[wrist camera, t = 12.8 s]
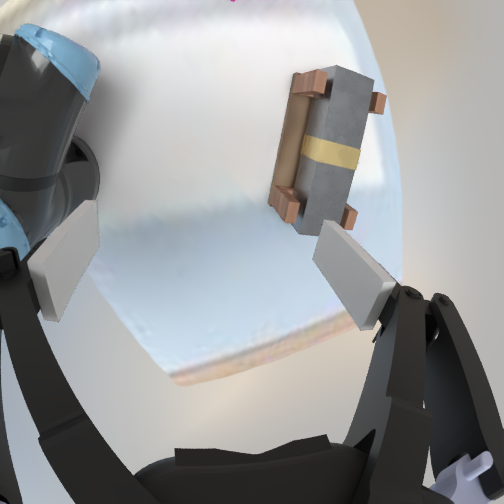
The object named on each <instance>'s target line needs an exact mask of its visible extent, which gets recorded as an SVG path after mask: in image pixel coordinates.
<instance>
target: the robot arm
mask: <svg viewBox="0 0 504 504" xmlns="http://www.w3.org/2000/svg"><path fill="white" fill-rule="evenodd" d="M14 34H15V35H14V36H10V35H5V34H0V504H23V502H22V497H21V493H20V490H19V486H18V482H17V479H16V475H15V471H14V468H13V463H12V459H11V455H10V451H9V445H8V440H7V434H6V428H5V421H4V413H3V404H2V391H1V334H2V333H1V332H2V330H4V334H5V338H6V342H7V346H8V350H9V354H10V358H11V361H12V364H13V368H14V370H15V374H16V377H17V380H18V382H19V385H20V388H21V391H22V394H23V396H24V399H25V401H26V404H27V407H28V409H29V411H30V413H31V416H32V418H33V421H34V423H35V425H36V427H37V429H38V432H39V434H40V437H39V438H38V440H39V444H40V446H41V448H42V450H43V452H44V454H45V456H46V458H47V460H48V461H49V463H50V465H51V467H52V468H53V470H54V472H55V473H56V475H57V477H58V478H59V480H60V482H61V483H62V485H63V486H64V488H65V489H66V491H67V492H68V494H69V495H70V497H71V498H72V499H73V501H74V502H75V504H489V503H491V502H493V501H495V500H496V499H498V498H500V497H501V496H503V495H504V429H503V427H502V423H501V420H500V416H499V413H498V409H497V406H496V403H495V400H494V397H493V393H492V390H491V387H490V385H489V382H488V380H487V376H486V374H485V371H484V368H483V366H482V363H481V361H480V359H479V356H478V354H477V352H476V349H475V347H474V344H473V342H472V340H471V338H470V336H469V333H468V331H467V329H466V327H465V325H464V323H463V321H462V319H461V317H460V315H459V313H458V311H457V309H456V307H455V305H454V303H453V302H452V301H451V300H450V299H449V297H448V296H446V295H444V294H440V293H435V294H434V295H433V297H432V299H431V301H429V300H424V298H423V296H422V294H421V293H420V292H419V291H417V290H416V289H414V288H412V287H409V286H401V285H400V284H399V283H398V282H397V281H396V280H395V279H394V278H393V277H392V276H391V275H389V273H388V272H387V271H386V270H385V269H384V268H383V267H382V266H381V265H380V264H379V263H378V262H377V261H376V260H375V259H374V258H373V257H372V256H371V255H370V254H369V253H368V252H367V251H366V250H365V249H364V248H363V247H362V246H361V245H359V244H358V243H357V242H356V241H355V240H354V239H353V238H352V237H351V236H350V235H349V234H348V233H347V232H346V231H345V230H344V229H343V228H342V227H341V226H340V225H338V224H337V223H336V222H335V221H331V220H324V221H323V225H322V228H321V232H320V235H319V239H318V242H317V245H316V249H315V252H314V255H313V259H312V260H313V261H314V262H315V264H316V265H317V267H318V268H319V270H320V271H321V273H322V274H323V275H324V277H325V278H326V280H327V281H328V283H329V284H330V286H331V287H332V289H333V290H334V292H335V293H336V295H337V296H338V297H339V299H340V300H341V302H342V303H343V305H344V306H345V308H346V310H347V311H348V313H349V314H350V316H351V317H352V319H353V320H354V322H355V323H356V325H357V326H358V328H359V329H360V331H361V330H372V329H373V328H374V326H375V324H376V322H377V320H379V321H380V322H381V324H382V325H381V327H380V329H379V331H378V332H377V334H376V336H375V338H374V339H373V341H372V342H373V343H374V342H375V341H376V343H375V347H374V351H373V355H372V359H371V363H370V367H369V370H368V374H367V377H366V381H365V384H364V388H363V391H362V394H361V397H360V400H359V403H358V406H357V409H356V412H355V415H354V418H353V421H352V423H351V426H350V429H349V432H348V434H347V436H346V439H345V440H344V442H343V444H339V443H330V442H329V440H328V437H327V435H326V434H325V435H321V436H316V437H311V438H306V439H300V440H294V441H292V442H289V443H287V444H285V445H282V446H279V447H277V448H274V449H272V450H269V451H266V452H264V453H261V454H246V453H239V452H233V451H226V450H220V449H181V448H179V449H178V448H175V457H170V458H165V459H162V460H159V461H156V462H154V463H152V464H149V465H148V466H146V467H144V468H142V469H141V470H140V471H138V472H137V473H136V474H135V475H134V476H133V475H132V474H131V472H130V471H129V470H128V469H127V468H126V466H125V465H124V464H123V463H122V462H121V461H120V459H119V458H118V457H117V455H116V454H115V453H114V452H113V450H112V449H111V448H110V446H109V445H108V444H107V442H106V441H105V440H104V438H103V437H102V436H101V434H100V433H99V431H98V430H97V428H96V427H95V426H94V424H93V423H92V421H91V420H90V418H89V417H88V415H87V414H86V412H85V411H84V409H83V408H82V406H81V405H80V403H79V401H78V399H77V398H76V396H75V394H74V393H73V391H72V389H71V387H70V385H69V384H68V382H67V380H66V378H65V376H64V374H63V372H62V370H61V368H60V366H59V365H58V362H57V360H56V359H55V356H54V354H53V352H52V350H51V347H50V345H49V343H48V341H47V338H46V336H45V334H44V331H43V329H42V326H41V324H40V321H39V319H38V316H37V314H38V312H39V310H40V309H41V312H42V315H43V318H44V320H48V321H54V322H59V321H60V319H61V317H62V315H63V313H64V311H65V308H66V306H67V304H68V302H69V300H70V298H71V296H72V294H73V292H74V291H75V289H76V287H77V285H78V283H79V281H80V279H81V277H82V276H83V274H84V272H85V270H86V268H87V267H88V265H89V263H90V261H91V260H92V258H93V256H94V254H95V253H96V251H97V249H98V248H99V246H100V241H99V227H98V206H97V201H96V200H95V198H96V196H97V193H98V188H99V168H98V164H97V161H96V158H95V156H94V154H93V152H92V151H91V149H90V148H89V147H88V145H87V144H86V143H85V142H83V141H82V140H81V139H79V138H78V137H75V136H73V134H74V132H75V129H76V127H77V124H78V122H79V119H80V117H81V115H82V112H83V110H84V108H85V106H86V103H88V102H89V100H90V94H91V91H92V89H93V87H94V84H95V82H96V80H97V78H98V76H99V73H100V62H99V60H98V58H97V57H96V56H95V55H94V54H93V53H92V52H90V51H89V50H87V49H86V48H84V47H83V46H81V45H79V44H78V43H76V42H74V41H72V40H70V39H68V38H66V37H64V36H62V35H60V34H58V33H56V32H53V31H51V30H46V29H44V28H41V27H39V26H37V25H33V24H23V25H21V26H20V27H19V28H18V29H17V30H16V31H15V33H14ZM56 227H58V228H57V229H56V230H55V231H54V229H55V228H56ZM53 231H54V232H53ZM52 232H53V233H52ZM51 233H52V234H51ZM50 234H51V235H50ZM49 235H50V236H49ZM48 236H49V237H48ZM47 237H48V238H47ZM438 332H439V333H438ZM437 334H438V336H437V338H436V339H435V337H436V335H437ZM423 401H424V404H425V409H424V408H423ZM429 445H430V455H431V465H432V470H433V475H434V478H435V482H436V483H435V484H433V485H432V486H431V487H430V488H427V487H425V486H423V485H422V484H423V479H424V474H425V469H426V464H427V457H428V451H429Z"/></svg>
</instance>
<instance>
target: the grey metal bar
mask: <svg viewBox="0 0 504 504" xmlns="http://www.w3.org/2000/svg"><path fill="white" fill-rule="evenodd" d="M319 70H321V71H324V72H327V73H328V75H327V80H326V85H325V91H324V94H313V99H312V104H311V109H310V114H309V119H308V123H307V128H306V133H305V134H304V138H303V143H302V148H301V157H300V161H299V166H298V171H297V175H296V180H295V184H294V189H293V193H292V196H293V197H294V198H295V199H296V200H297V201H298V202H299V203H300V205H299V209H298V213H297V217H296V222H295V224H294V223H291V224H292V226H293V227H294V228H295V230H296V231H297V232H298V234H301V235H311V236H319V235H320V232H321V228H322V225H323V221H324V220H331V221H335V222H336V223H337V224H338V225H340V222H341V219H342V215H343V212H344V209H345V205H346V202H347V198H348V194H349V191H350V187H351V183H352V180H353V176H354V172H355V170H356V168H357V164H358V160H359V156H360V152H361V150H360V148H361V143H362V139H363V135H364V130H365V126H366V121H367V116H368V111H369V106H370V101H371V96H372V91H373V85H374V80H373V79H371V78H368V77H366V76H363V75H361V74H359V73H356V72H354V71H351V70H348V69H346V68H343V67H340V66H338V65H335V66H331V67H327V68H323V69H319Z"/></svg>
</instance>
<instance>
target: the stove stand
mask: <svg viewBox="0 0 504 504" xmlns="http://www.w3.org/2000/svg"><path fill="white" fill-rule="evenodd" d="M327 75H328V73H327V72H324V71H321V70H318V69H316V70H313V71H309V72H306V73H302V74H301V73H294V74H293V79H292V84H291V89H290V94H289V99H288V104H287V109H286V115H285V120H284V125H283V130H282V135H281V140H280V145H279V150H278V155H277V160H276V165H275V170H274V175H273V180H272V185H271V190H270V195H269V200H268V204H269V205H270V206H273V207H274V208H275V210H276V211H277V213H278V214H279V215H280V217H281V218H282V219H283V221H284V222H285V223H294V224H295V222H296V217H297V213H298V209H299V205H300V203H299V202H298V201H297V200H296V199H295V198H294V197H293V196H292V193H293V189H294V184H295V180H296V175H297V171H298V166H299V161H300V157H301V148H302V143H303V138H304V134H305V133H306V128H307V123H308V119H309V114H310V109H311V104H312V99H313V94H324V91H325V85H326V80H327ZM386 97H387V96H386V95H384V94H382V93H380V92H372V96H371V101H370V106H369V111H368V113H374V114H382V115H383V112H384V107H385V102H386ZM357 214H358V212H357V211H356V210H355V209H353V208H352V207H351V206H349V205H348V204H347V203H346V205H345V209H344V212H343V215H342V219H341V222H340V226H341V227H342V228H343V229H345V230H353V227H354V224H355V220H356V217H357Z"/></svg>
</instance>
